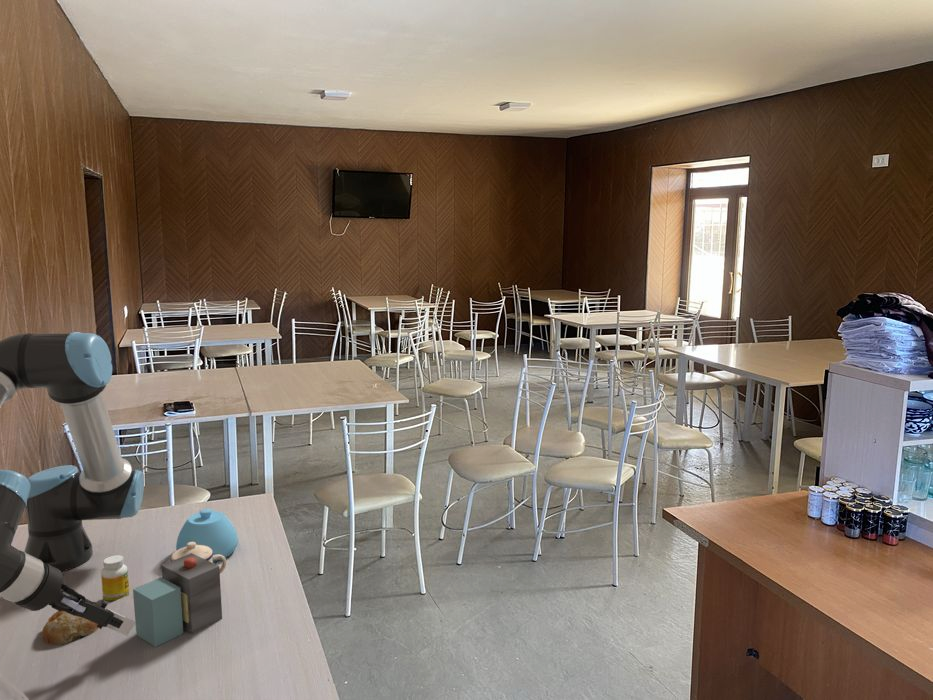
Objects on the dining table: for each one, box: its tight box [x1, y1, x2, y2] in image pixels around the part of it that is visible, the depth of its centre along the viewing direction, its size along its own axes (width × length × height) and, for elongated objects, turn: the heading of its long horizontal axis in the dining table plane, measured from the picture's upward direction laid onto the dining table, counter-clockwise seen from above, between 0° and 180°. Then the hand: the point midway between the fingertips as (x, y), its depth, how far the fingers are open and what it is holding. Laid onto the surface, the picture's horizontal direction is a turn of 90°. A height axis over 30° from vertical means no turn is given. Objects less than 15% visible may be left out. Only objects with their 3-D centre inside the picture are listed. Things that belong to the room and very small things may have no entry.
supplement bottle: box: [100, 554, 130, 605], centre depth 158 cm, size 5×5×10 cm
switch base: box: [160, 553, 223, 634], centre depth 141 cm, size 12×22×14 cm, turn 144°
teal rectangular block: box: [132, 577, 184, 648], centre depth 141 cm, size 7×6×10 cm
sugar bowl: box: [175, 508, 239, 563], centre depth 180 cm, size 15×15×12 cm
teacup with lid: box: [170, 542, 227, 575], centre depth 162 cm, size 12×9×12 cm
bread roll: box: [40, 610, 99, 645], centre depth 143 cm, size 10×10×8 cm
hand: (129, 628), depth 137 cm, fingers closed
